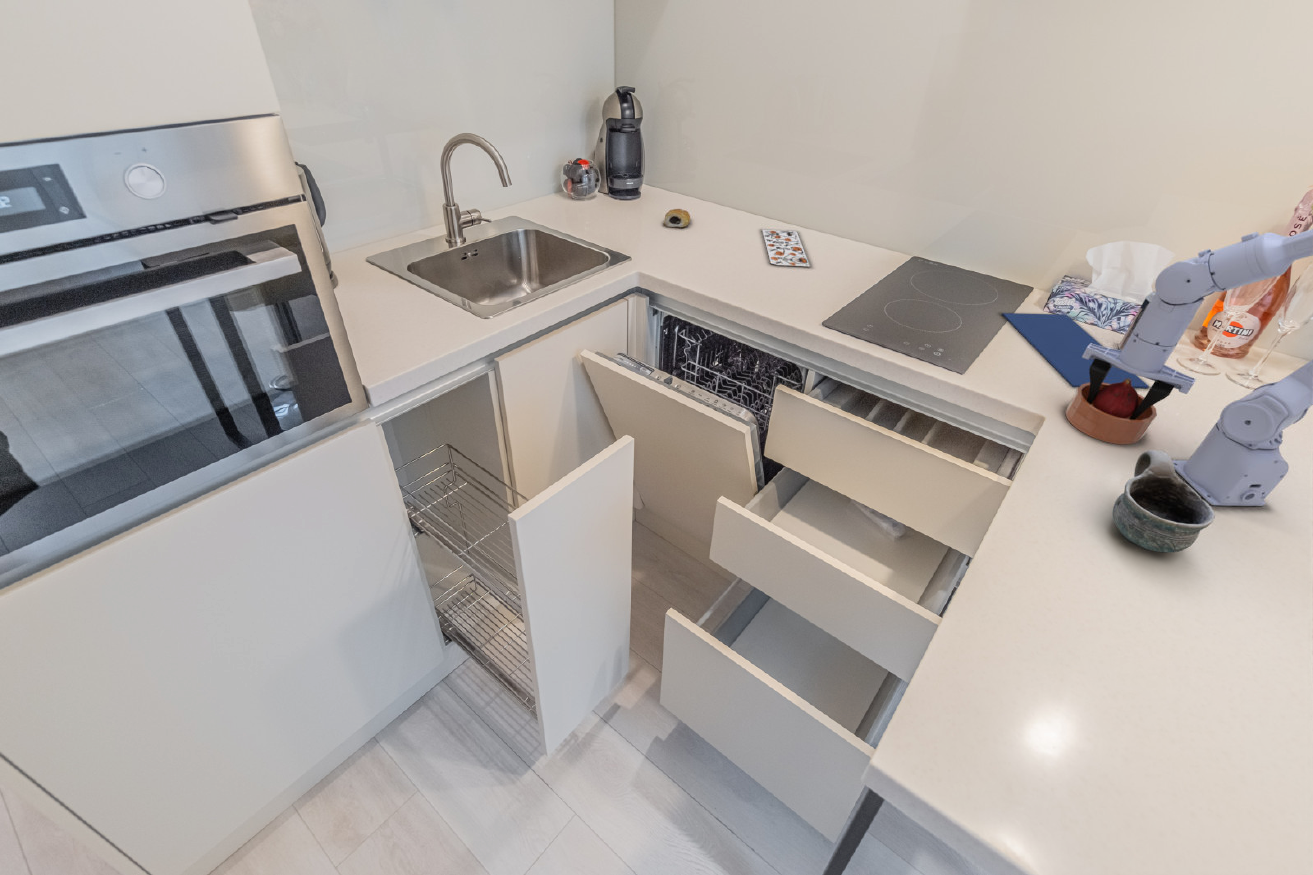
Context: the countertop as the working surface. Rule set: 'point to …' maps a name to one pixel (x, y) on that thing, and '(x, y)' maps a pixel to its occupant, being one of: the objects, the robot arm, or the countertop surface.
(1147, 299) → the beer can
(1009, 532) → the countertop surface
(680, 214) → the pastry
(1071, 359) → the cloth
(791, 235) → the paper towel
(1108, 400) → the onion
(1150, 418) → the bowl
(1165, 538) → the mug
